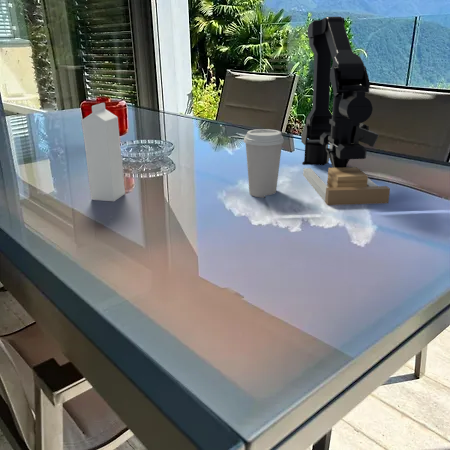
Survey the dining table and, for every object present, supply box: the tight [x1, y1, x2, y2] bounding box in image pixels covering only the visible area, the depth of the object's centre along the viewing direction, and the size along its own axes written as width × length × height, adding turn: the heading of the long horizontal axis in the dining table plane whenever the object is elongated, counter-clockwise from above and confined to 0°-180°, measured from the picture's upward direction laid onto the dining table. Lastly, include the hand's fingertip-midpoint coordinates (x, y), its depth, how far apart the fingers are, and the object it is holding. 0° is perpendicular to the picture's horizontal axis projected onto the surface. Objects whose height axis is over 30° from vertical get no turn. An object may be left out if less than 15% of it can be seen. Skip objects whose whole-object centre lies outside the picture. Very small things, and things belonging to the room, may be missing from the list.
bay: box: [302, 167, 391, 206], centre depth 114 cm, size 24×14×4 cm, turn 4°
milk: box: [81, 102, 126, 202], centre depth 107 cm, size 6×6×22 cm
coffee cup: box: [243, 128, 285, 199], centre depth 110 cm, size 10×10×15 cm
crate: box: [326, 166, 369, 188], centre depth 111 cm, size 8×7×5 cm
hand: (338, 178), depth 117 cm, fingers closed
